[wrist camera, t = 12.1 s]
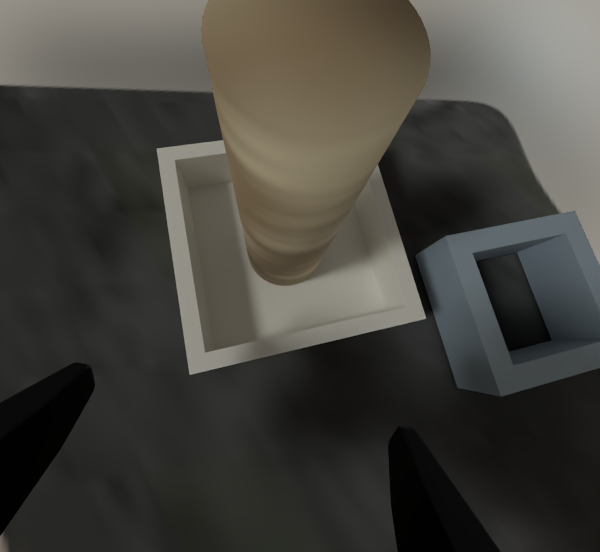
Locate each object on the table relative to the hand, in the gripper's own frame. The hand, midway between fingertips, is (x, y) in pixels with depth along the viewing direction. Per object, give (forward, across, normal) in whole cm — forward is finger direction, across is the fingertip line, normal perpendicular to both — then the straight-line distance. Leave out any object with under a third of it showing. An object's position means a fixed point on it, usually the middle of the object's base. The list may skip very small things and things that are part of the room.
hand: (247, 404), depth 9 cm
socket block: (+11, -14, +1) cm, 18 cm away
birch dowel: (+11, 0, 0) cm, 11 cm away
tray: (+11, 0, +1) cm, 11 cm away
